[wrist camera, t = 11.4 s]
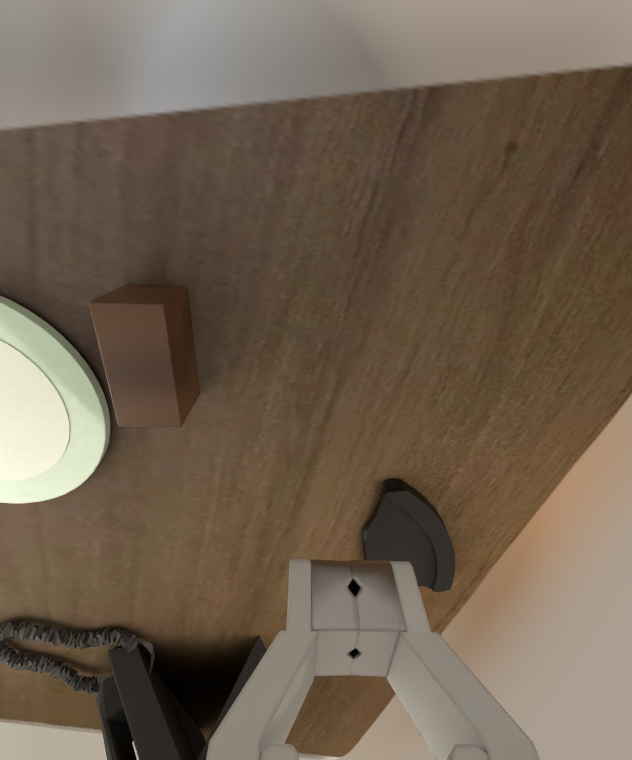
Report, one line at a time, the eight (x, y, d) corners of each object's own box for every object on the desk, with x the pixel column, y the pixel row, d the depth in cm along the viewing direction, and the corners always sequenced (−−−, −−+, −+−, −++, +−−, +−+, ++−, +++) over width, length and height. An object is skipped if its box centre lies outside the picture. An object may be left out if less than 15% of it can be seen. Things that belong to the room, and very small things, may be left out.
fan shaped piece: (454, 471, 31) (462, 484, 30) (447, 575, 37) (453, 590, 36) (357, 481, 32) (360, 495, 30) (366, 583, 38) (368, 598, 36)
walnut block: (125, 284, 24) (87, 302, 20) (187, 286, 24) (163, 304, 20) (146, 392, 27) (117, 426, 23) (200, 394, 27) (181, 427, 23)
